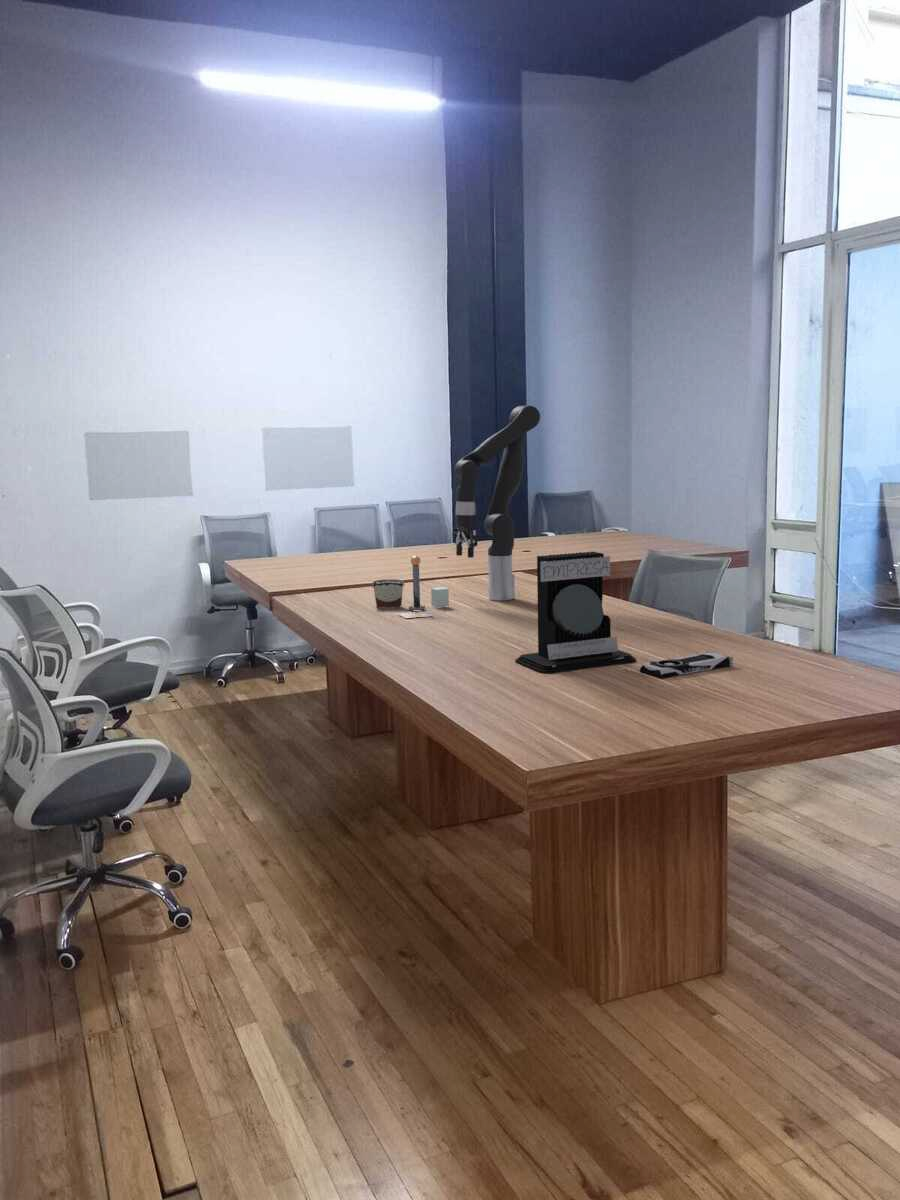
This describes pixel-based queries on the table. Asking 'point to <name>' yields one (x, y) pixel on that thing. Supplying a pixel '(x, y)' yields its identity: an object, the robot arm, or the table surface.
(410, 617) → the pad
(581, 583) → the award
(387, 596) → the food container
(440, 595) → the green block
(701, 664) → the graphics card
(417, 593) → the metal post
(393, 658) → the table surface
